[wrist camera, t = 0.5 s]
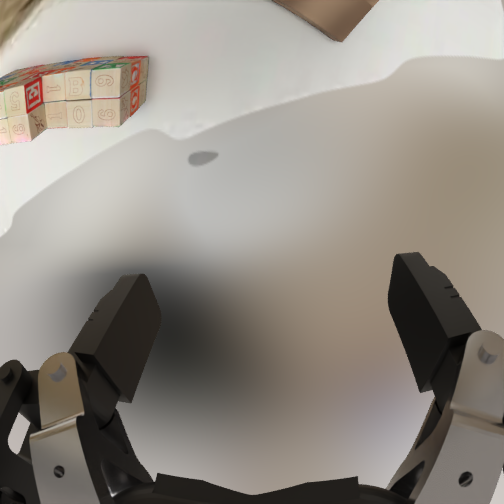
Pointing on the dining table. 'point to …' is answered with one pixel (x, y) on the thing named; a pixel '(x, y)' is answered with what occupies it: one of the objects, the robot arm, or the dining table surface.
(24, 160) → the dining table surface
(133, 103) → the stack of blocks
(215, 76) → the dining table surface
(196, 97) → the dining table surface
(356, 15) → the board
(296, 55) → the dining table surface
